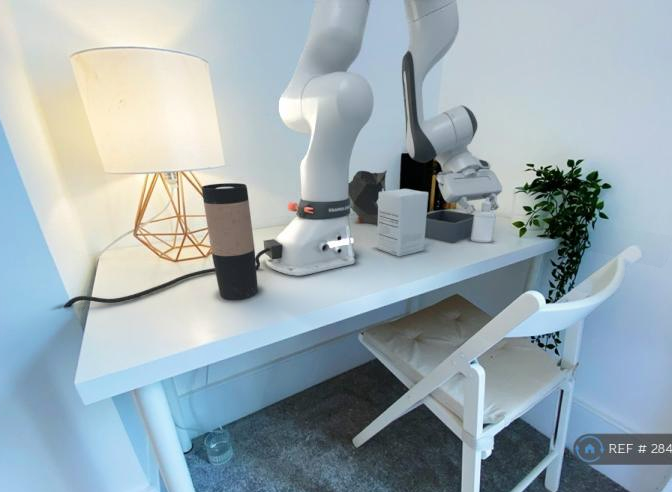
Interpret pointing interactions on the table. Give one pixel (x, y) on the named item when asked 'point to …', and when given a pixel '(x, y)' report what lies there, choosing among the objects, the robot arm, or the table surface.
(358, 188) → the dark grey faceted sculpture
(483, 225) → the eye dropper bottle
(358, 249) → the table surface
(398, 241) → the white product box
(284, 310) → the table surface
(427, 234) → the grey open rectangular box
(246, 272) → the travel mug
